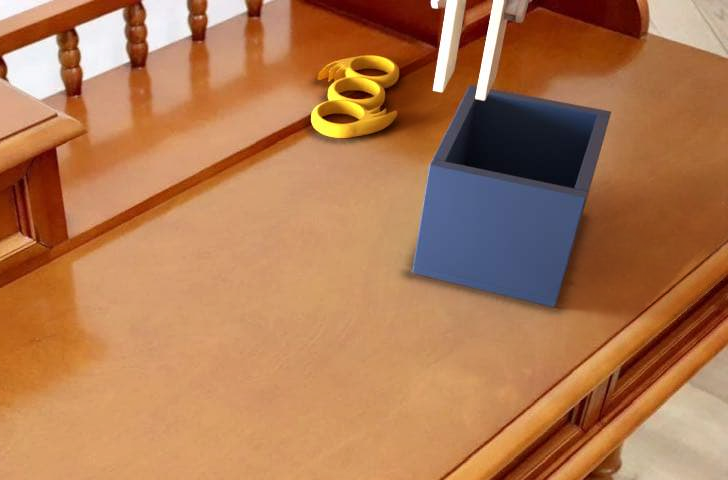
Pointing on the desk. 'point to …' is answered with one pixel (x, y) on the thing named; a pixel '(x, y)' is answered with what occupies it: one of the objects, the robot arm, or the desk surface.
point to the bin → (509, 194)
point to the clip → (451, 43)
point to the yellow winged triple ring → (358, 108)
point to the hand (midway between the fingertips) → (476, 12)
